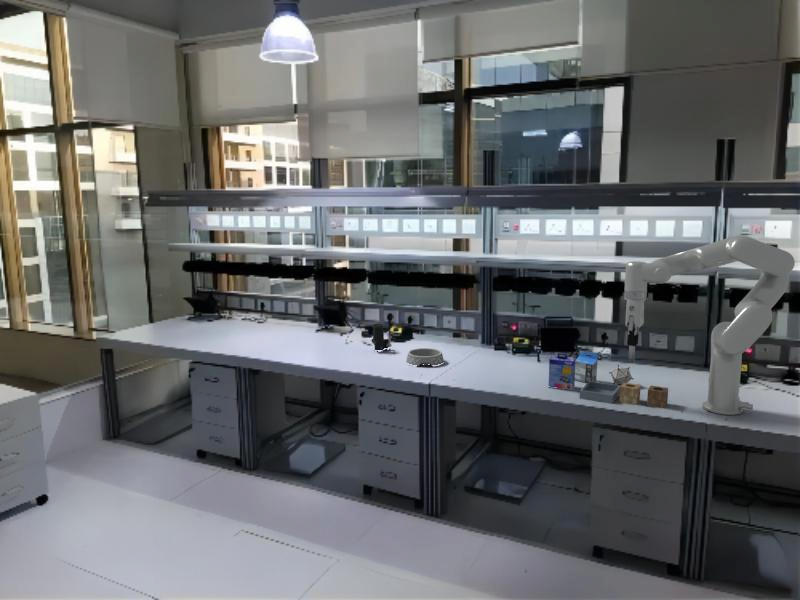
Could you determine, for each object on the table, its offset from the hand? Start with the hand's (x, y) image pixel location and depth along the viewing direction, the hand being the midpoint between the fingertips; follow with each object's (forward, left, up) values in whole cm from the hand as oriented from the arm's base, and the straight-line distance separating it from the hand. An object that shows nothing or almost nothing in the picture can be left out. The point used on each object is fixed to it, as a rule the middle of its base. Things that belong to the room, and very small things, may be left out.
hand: (632, 344), depth 214 cm
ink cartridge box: (+27, -4, -22) cm, 35 cm away
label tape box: (+21, -17, -22) cm, 35 cm away
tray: (+11, -1, -22) cm, 24 cm away
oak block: (0, 0, -22) cm, 22 cm away
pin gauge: (0, 0, -7) cm, 7 cm away
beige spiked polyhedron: (+7, -19, -22) cm, 30 cm away
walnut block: (-9, -1, -22) cm, 24 cm away
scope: (+125, -18, -22) cm, 128 cm away
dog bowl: (+94, -10, -22) cm, 97 cm away
